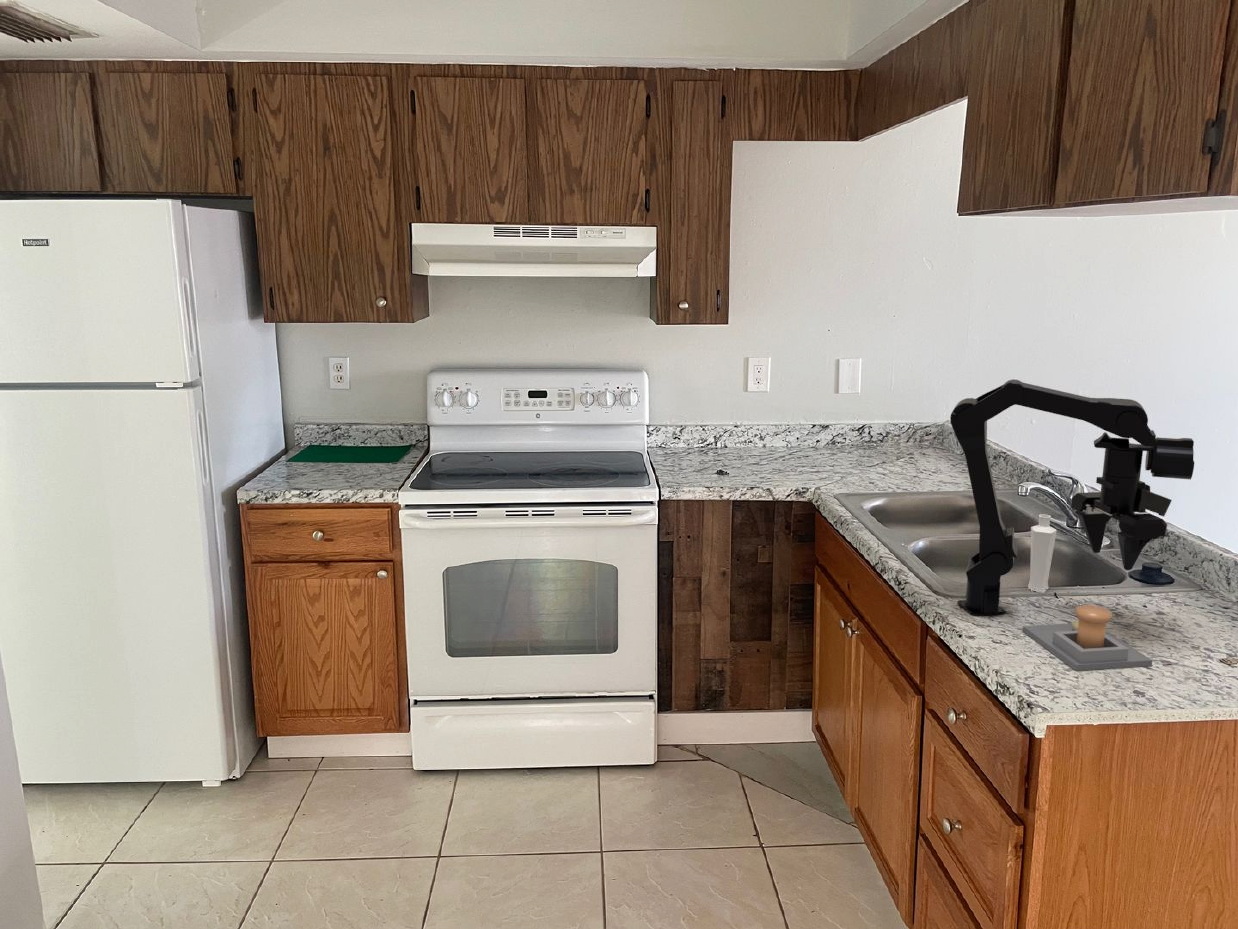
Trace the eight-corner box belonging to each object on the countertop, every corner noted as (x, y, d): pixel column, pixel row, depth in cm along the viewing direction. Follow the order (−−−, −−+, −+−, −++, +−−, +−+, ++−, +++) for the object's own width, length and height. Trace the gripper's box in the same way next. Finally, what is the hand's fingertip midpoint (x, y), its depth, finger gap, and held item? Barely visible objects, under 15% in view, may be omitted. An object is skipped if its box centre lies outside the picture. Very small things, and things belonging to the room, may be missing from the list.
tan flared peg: (1065, 645, 159) (1069, 606, 157) (1094, 644, 159) (1099, 604, 158) (1083, 658, 154) (1088, 618, 152) (1113, 657, 154) (1118, 616, 153)
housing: (1022, 631, 167) (1024, 610, 166) (1092, 627, 169) (1094, 606, 168) (1075, 671, 152) (1078, 647, 151) (1151, 666, 153) (1154, 642, 152)
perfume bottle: (1053, 594, 185) (1061, 519, 181) (1029, 593, 185) (1036, 518, 182) (1047, 586, 189) (1054, 513, 186) (1024, 584, 190) (1030, 512, 186)
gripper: (1203, 486, 155) (1191, 577, 159) (1132, 460, 173) (1122, 543, 177) (1138, 488, 154) (1127, 580, 158) (1073, 462, 172) (1065, 545, 176)
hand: (1111, 561), depth 167 cm, fingers open, 9 cm apart
